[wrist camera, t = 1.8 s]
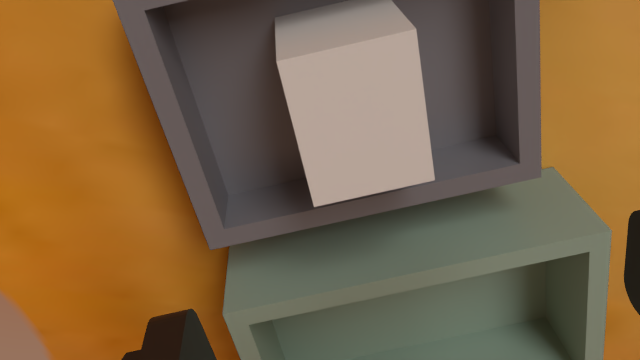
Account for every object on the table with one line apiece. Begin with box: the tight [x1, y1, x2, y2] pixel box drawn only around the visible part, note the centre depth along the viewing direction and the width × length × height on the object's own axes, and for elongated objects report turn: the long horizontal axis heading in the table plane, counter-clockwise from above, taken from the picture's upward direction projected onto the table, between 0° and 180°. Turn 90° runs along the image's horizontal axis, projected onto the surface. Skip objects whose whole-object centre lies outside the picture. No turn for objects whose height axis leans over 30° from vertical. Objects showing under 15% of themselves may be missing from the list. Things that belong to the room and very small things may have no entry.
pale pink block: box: [275, 0, 435, 207], centre depth 19 cm, size 4×5×5 cm
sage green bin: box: [223, 167, 612, 360], centre depth 26 cm, size 15×9×5 cm, turn 102°
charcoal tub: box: [113, 0, 541, 250], centre depth 21 cm, size 13×10×4 cm
